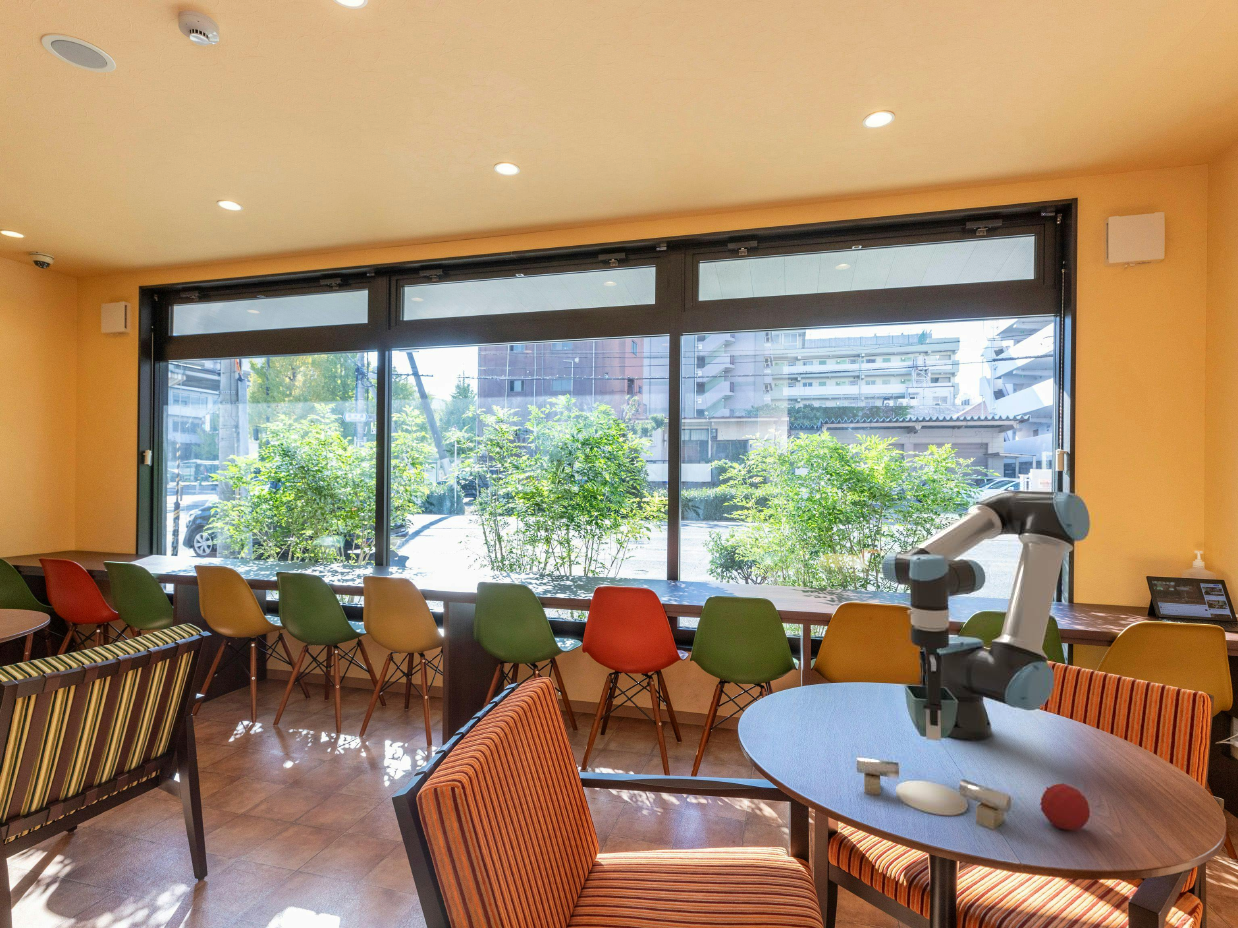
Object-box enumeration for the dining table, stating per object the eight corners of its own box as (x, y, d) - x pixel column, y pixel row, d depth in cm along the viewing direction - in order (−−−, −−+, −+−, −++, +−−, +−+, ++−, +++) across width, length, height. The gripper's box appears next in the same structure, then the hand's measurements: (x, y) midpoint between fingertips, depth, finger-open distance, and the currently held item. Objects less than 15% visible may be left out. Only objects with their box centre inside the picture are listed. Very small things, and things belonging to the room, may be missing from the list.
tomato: (1089, 791, 115) (1052, 764, 122) (1057, 819, 114) (1021, 790, 122) (1105, 819, 117) (1068, 791, 124) (1073, 846, 117) (1038, 817, 124)
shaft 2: (956, 814, 123) (957, 783, 123) (967, 806, 126) (967, 775, 126) (1002, 833, 117) (1002, 800, 117) (1012, 823, 120) (1013, 791, 120)
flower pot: (959, 743, 134) (958, 700, 134) (914, 740, 136) (913, 698, 136) (946, 726, 143) (945, 686, 143) (904, 724, 144) (903, 684, 144)
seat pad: (938, 780, 137) (938, 778, 137) (983, 812, 124) (983, 810, 124) (882, 784, 134) (882, 782, 134) (922, 818, 121) (922, 815, 121)
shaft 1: (897, 787, 133) (897, 758, 133) (899, 798, 129) (899, 768, 129) (856, 780, 136) (856, 752, 136) (856, 791, 131) (856, 761, 132)
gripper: (906, 614, 151) (908, 709, 151) (915, 638, 130) (916, 748, 130) (942, 616, 148) (943, 713, 148) (956, 641, 128) (957, 753, 128)
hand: (930, 729), depth 139 cm, fingers closed on flower pot, 9 cm apart
